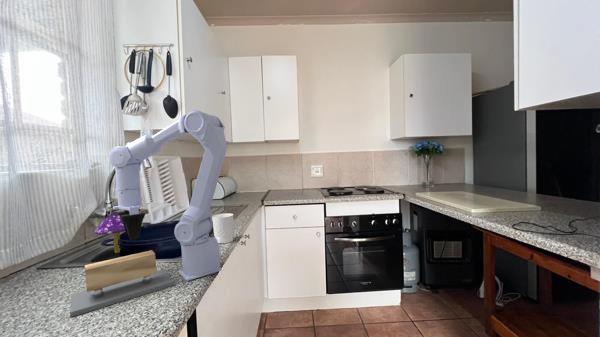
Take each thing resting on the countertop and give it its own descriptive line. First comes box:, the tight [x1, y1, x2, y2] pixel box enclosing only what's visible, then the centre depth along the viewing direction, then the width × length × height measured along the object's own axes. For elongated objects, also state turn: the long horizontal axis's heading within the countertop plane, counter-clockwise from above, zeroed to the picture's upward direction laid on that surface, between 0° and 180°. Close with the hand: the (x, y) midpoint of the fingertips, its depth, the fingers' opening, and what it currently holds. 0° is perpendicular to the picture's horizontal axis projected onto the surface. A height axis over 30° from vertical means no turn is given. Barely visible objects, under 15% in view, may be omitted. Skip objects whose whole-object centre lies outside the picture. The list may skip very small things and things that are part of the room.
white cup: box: [212, 212, 235, 245], centre depth 105 cm, size 8×8×10 cm
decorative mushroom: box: [93, 210, 125, 254], centre depth 98 cm, size 12×12×15 cm
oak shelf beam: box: [84, 250, 157, 292], centre depth 67 cm, size 4×14×5 cm, turn 129°
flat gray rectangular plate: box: [69, 268, 175, 318], centre depth 67 cm, size 20×11×3 cm, turn 129°
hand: (132, 236), depth 79 cm, fingers open, 7 cm apart
